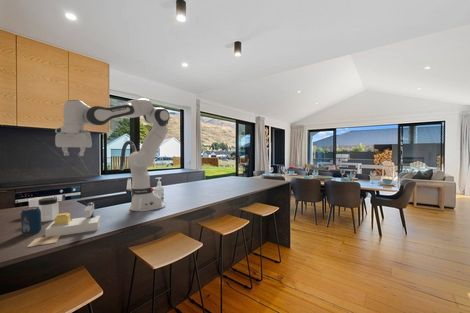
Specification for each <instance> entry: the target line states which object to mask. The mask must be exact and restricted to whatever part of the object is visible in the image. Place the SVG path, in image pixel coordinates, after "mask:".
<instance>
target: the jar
mask: <svg viewBox="0 0 470 313" xmlns="http://www.w3.org/2000/svg"><path fill="white" fill-rule="evenodd" d="M38 201H39V204H38V207H39V209H40V210H41V223H46V222H51V221H52V222H53V221H55V219H54V218H55V217H56V216H57V215H58V214H60V213H59V212H60V210H59V202H58V197H56V196H55V197H46V198H43V199H40V200H38Z"/></svg>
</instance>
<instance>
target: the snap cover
mask: <svg viewBox="0 0 470 313" xmlns="http://www.w3.org/2000/svg"><path fill="white" fill-rule="evenodd" d="M54 219H55V220H54V221H55V225H59V224H66V223H69V222H70V219H71V213H69V212H63V213H59V214H58V215H57V216H56V217H55V218H54Z"/></svg>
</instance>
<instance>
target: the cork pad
mask: <svg viewBox="0 0 470 313" xmlns="http://www.w3.org/2000/svg"><path fill="white" fill-rule="evenodd" d="M60 237H61V235H56V236H50V237H46V236H41V237H36V238H34V239H33V240H32V241H31V242H30V243H29V244H28V245H27V248H33V247H40V246H45V245H46V246H47V245H51V244H56V243H57V242H58V241H59V239H60Z"/></svg>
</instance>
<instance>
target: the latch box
mask: <svg viewBox="0 0 470 313" xmlns="http://www.w3.org/2000/svg"><path fill="white" fill-rule="evenodd" d="M100 225H101V215H94V217H88V218H84V216H82V217H78V218H77V217H75V218H70V222H69V223H66V224H59V225H55V220H52V222H51V223H50V224H49V225H48V226H46V228H45V229H44V232H45V236H44V237H50V236H56V235H61V236H68V235H74V234H80V233H87V232H88V233H89V232H95V231H98V230H99V228H100ZM61 236H60V237H61Z"/></svg>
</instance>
